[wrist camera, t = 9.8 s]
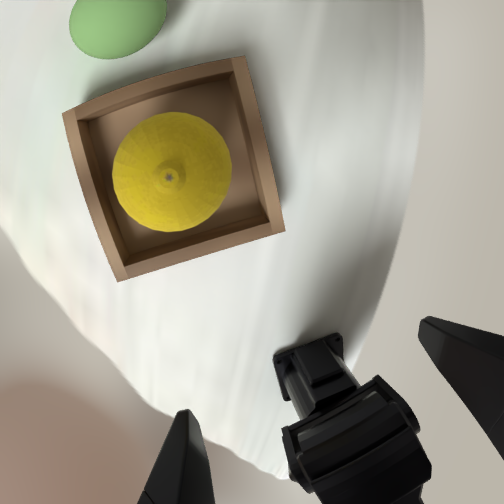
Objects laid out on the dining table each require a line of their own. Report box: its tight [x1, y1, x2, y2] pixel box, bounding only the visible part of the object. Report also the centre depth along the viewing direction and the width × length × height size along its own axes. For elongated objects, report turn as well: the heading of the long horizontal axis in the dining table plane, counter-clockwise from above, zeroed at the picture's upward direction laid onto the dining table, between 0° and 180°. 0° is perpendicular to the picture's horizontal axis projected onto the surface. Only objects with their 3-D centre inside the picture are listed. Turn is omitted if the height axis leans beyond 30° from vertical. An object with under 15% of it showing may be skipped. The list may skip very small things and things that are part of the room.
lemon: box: [112, 112, 232, 232], centre depth 13 cm, size 6×6×8 cm
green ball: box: [69, 0, 167, 59], centre depth 10 cm, size 6×6×6 cm
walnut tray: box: [62, 56, 285, 282], centre depth 16 cm, size 11×11×2 cm
